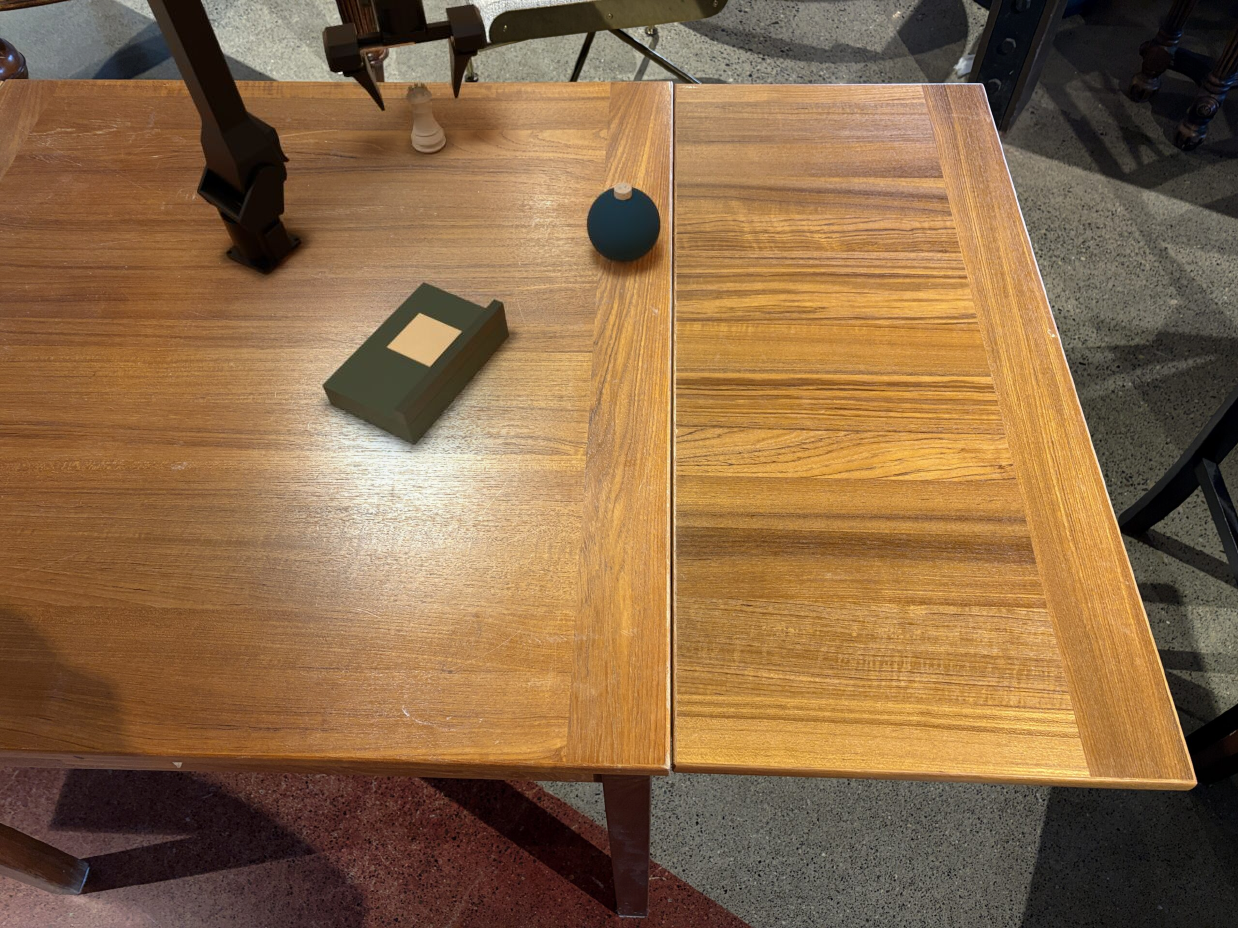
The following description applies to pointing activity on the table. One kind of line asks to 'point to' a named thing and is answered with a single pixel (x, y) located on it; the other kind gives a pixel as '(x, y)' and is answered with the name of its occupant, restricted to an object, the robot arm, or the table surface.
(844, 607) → the table surface
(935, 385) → the table surface
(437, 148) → the rook chess piece
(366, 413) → the green platform
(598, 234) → the christmas ornament
